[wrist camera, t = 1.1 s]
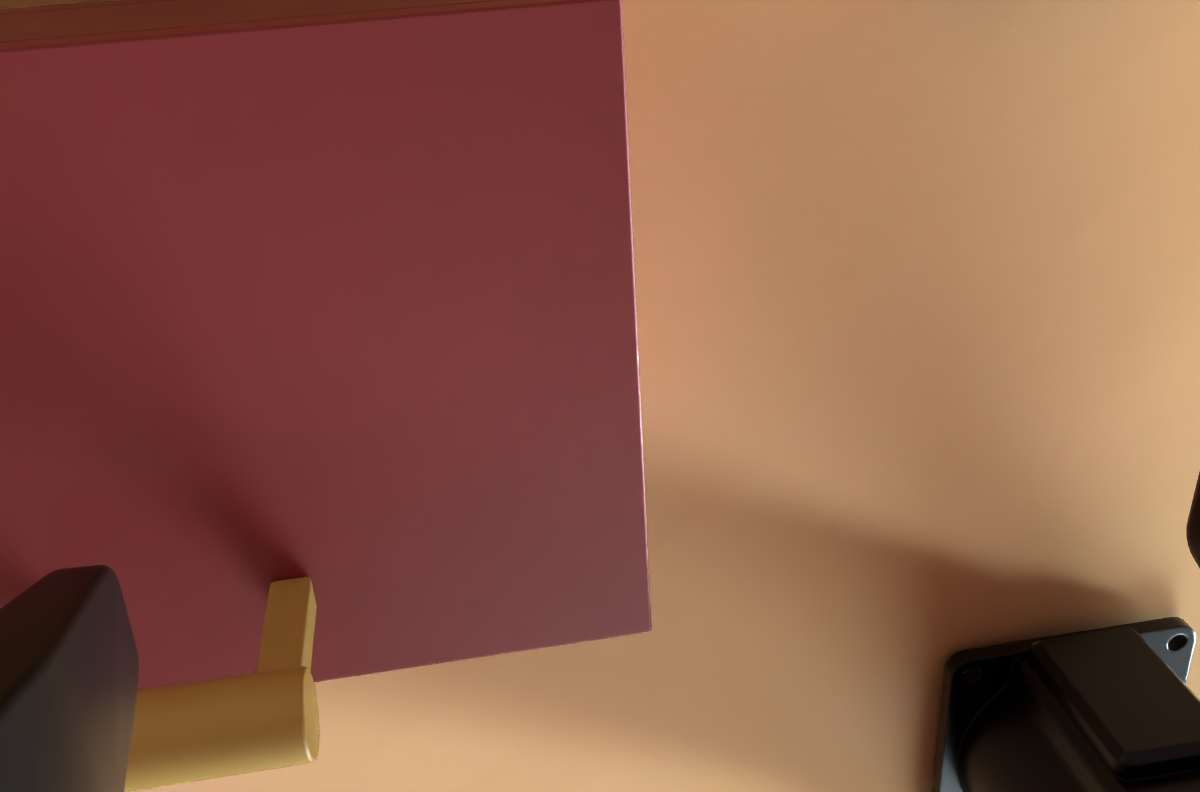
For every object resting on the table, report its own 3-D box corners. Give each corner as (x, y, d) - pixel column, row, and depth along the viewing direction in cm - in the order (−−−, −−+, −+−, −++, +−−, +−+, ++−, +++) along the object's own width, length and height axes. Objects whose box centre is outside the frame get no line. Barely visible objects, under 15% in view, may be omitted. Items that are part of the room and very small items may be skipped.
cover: (645, 612, 22) (700, 784, 18) (-279, 749, 20) (-442, 975, 16) (615, -10, 17) (682, 43, 13) (-637, 95, 15) (-1003, 195, 11)
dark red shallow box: (611, 492, 25) (644, 594, 22) (-191, 601, 23) (-287, 730, 20) (578, -39, 20) (614, -10, 17) (-449, 45, 18) (-635, 95, 15)
